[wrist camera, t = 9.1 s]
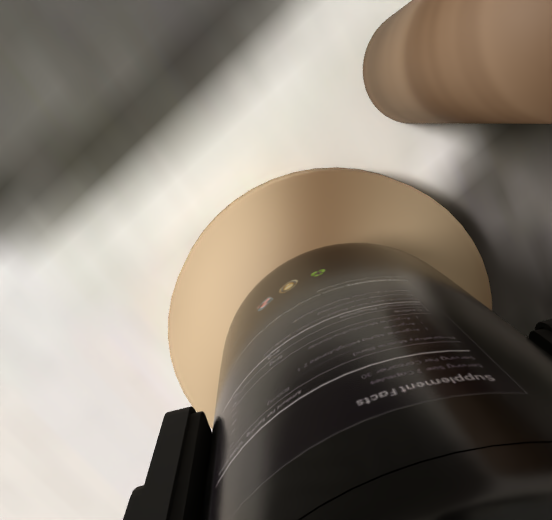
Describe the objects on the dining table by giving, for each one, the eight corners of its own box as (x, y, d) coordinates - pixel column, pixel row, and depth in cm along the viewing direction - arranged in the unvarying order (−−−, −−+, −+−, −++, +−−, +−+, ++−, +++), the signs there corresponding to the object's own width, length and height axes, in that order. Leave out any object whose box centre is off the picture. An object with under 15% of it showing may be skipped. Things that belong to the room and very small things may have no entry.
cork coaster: (458, 130, 13) (475, 131, 12) (489, 410, 16) (504, 428, 15) (129, 213, 13) (120, 221, 12) (221, 475, 16) (219, 497, 15)
